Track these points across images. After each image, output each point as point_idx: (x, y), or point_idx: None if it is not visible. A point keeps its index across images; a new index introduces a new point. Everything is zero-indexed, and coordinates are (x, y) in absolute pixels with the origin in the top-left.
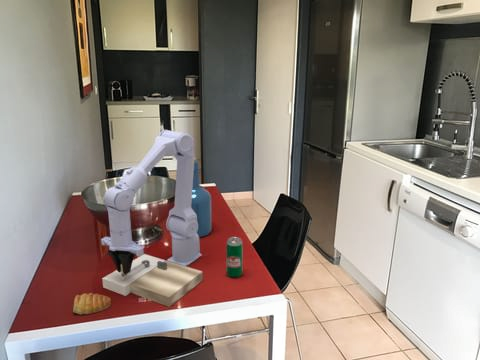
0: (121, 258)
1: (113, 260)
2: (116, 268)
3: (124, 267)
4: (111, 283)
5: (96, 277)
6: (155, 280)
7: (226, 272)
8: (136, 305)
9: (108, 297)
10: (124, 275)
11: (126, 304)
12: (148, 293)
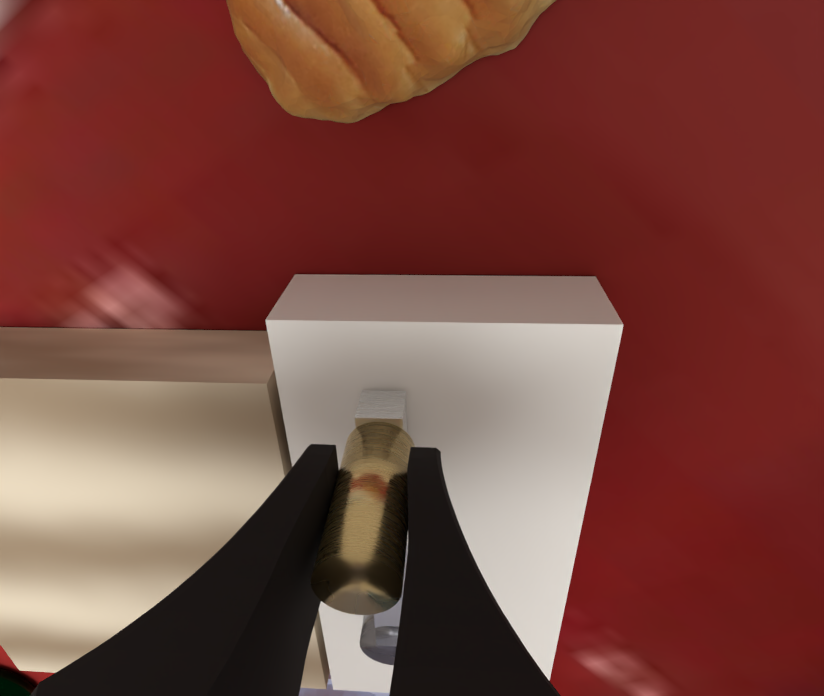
0: (152, 667)
1: (465, 577)
2: (440, 477)
3: (253, 515)
4: (472, 312)
5: (782, 366)
6: (139, 502)
7: (10, 689)
8: (89, 211)
9: (308, 107)
10: (352, 437)
11: (169, 176)
12: (63, 357)
